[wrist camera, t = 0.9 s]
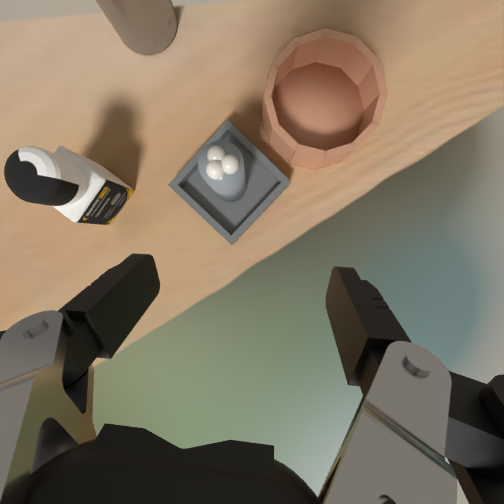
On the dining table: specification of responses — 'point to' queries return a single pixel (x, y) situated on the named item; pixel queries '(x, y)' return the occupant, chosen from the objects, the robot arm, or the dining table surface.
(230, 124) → the parts tray
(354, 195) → the dining table surface
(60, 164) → the medicine bottle
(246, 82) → the dining table surface
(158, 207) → the dining table surface
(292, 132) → the bowl
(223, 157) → the pebble cup
